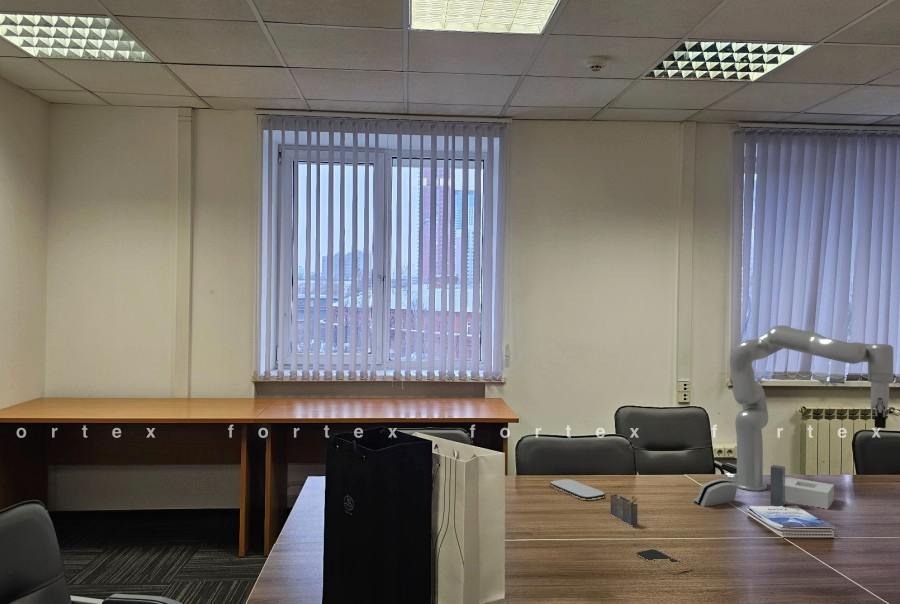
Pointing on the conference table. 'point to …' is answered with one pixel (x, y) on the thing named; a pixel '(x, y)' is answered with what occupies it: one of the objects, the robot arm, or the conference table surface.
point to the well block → (808, 492)
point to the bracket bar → (777, 485)
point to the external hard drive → (577, 488)
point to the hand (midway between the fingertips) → (880, 425)
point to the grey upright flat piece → (624, 509)
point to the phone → (655, 555)
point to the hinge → (716, 492)
